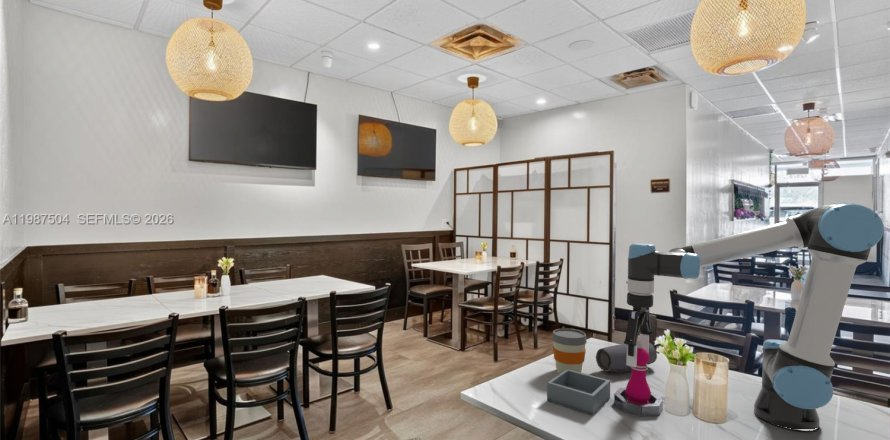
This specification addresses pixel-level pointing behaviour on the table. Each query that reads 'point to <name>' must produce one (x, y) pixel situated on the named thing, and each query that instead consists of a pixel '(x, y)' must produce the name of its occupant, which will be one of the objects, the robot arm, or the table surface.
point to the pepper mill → (639, 379)
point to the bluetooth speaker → (619, 358)
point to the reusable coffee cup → (569, 349)
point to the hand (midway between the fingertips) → (637, 359)
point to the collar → (636, 408)
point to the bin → (578, 391)
